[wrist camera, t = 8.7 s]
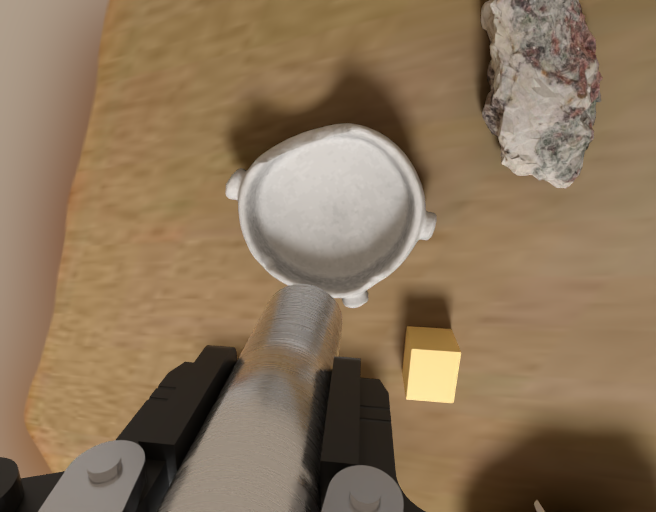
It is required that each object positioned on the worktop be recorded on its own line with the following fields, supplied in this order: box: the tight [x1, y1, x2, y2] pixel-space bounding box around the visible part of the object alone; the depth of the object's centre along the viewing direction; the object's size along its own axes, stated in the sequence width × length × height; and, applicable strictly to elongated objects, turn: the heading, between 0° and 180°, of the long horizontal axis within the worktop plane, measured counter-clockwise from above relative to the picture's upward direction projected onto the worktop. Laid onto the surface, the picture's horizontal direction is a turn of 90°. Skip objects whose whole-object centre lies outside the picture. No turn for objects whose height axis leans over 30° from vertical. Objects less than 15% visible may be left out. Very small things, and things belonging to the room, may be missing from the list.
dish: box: [226, 123, 436, 308], centre depth 32 cm, size 14×14×5 cm
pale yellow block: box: [402, 326, 461, 403], centre depth 35 cm, size 4×5×4 cm
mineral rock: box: [481, 0, 603, 188], centre depth 28 cm, size 15×8×4 cm, turn 7°
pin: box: [156, 284, 342, 512], centre depth 9 cm, size 4×4×11 cm
